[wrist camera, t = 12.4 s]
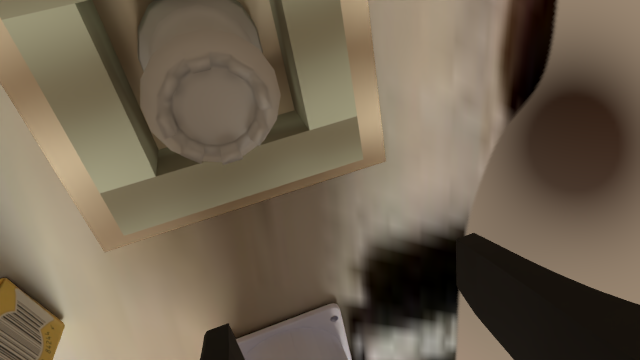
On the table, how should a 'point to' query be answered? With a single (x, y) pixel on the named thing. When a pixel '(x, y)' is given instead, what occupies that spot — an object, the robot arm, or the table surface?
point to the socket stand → (153, 155)
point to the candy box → (26, 326)
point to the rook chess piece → (205, 79)
